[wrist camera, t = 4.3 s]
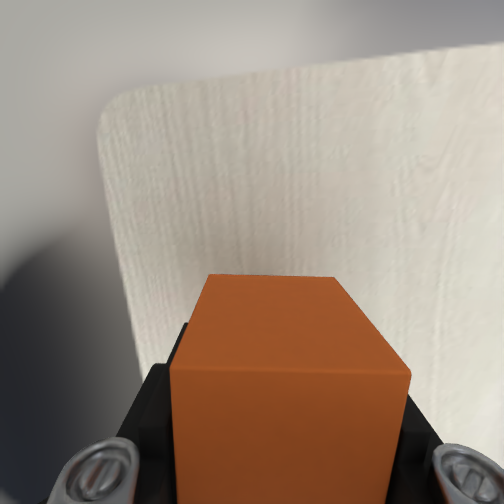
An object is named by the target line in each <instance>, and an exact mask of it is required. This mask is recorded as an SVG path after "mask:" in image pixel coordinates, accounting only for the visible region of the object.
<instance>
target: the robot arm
mask: <svg viewBox="0 0 504 504" xmlns="http://www.w3.org/2000/svg"><path fill="white" fill-rule="evenodd" d="M187 325H188V323H187V322H185V323H184V325H183V327H182V329H181V332H180V334H179V336H178V338H177V340H176V343H175V345H174V347H173V349H172V352H171V354H170V356H169V358H168V360H167V363H166V364H161V363H155V364H154V365H153V366H152V367H151V369H150V371H149V373H148V375H147V377H146V379H145V381H144V383H143V385H142V387H141V389H140V391H139V392H138V394H137V396H136V398H135V400H134V402H133V404H132V406H131V408H130V410H129V412H128V414H127V416H126V418H125V420H124V421H123V424H122V425H121V427H120V429H119V431H118V433H117V435H116V437H109V438H106V439H102V440H98V441H96V442H94V443H92V444H90V445H88V446H86V447H85V448H84V449H82V450H81V451H79V452H78V453H77V454H75V455H74V457H73V458H72V459H71V460H70V461H69V462H68V463H67V464H66V465H65V467H64V469H63V470H62V472H61V474H60V475H59V477H58V479H57V481H56V484H55V486H54V488H53V490H52V492H51V495H50V496H49V497H47V498H46V499H44V500H43V501H41V502H40V503H38V504H177V490H176V473H175V455H174V438H173V420H172V403H171V385H170V365H171V363H172V361H173V358H174V356H175V354H176V351H177V349H178V346H179V344H180V342H181V339H182V337H183V335H184V332H185V330H186V328H187ZM385 504H504V470H503V469H502V468H501V467H500V466H499V465H498V464H497V463H495V462H494V461H493V460H491V459H489V458H488V457H486V456H485V455H483V454H482V453H480V452H478V451H476V450H473V449H471V448H469V447H466V446H462V445H459V444H449V443H446V444H444V443H443V442H442V441H441V439H440V438H439V436H438V435H437V434H436V432H435V431H434V429H433V428H432V427H431V425H430V424H429V422H428V421H427V420H426V418H425V417H424V415H423V414H422V413H421V411H420V410H419V408H418V407H417V406H416V404H415V403H414V401H413V400H412V399H411V397H410V396H409V394H408V395H407V399H406V404H405V409H404V414H403V419H402V424H401V428H400V433H399V438H398V443H397V448H396V452H395V457H394V462H393V467H392V472H391V476H390V481H389V486H388V491H387V496H386V501H385Z"/></svg>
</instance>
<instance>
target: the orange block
mask: <svg viewBox="0 0 504 504" xmlns="http://www.w3.org/2000/svg"><path fill="white" fill-rule="evenodd" d="M410 380H411V371H410V369H409V368H408V367H407V366H406V364H405V363H404V362H403V361H402V359H401V358H400V357H399V356H398V354H397V353H396V352H395V351H394V350H393V348H392V347H391V346H390V345H389V343H388V342H387V341H386V340H385V339H384V337H383V336H382V335H381V334H380V332H379V331H378V330H377V329H376V328H375V326H374V325H373V324H372V323H371V321H370V320H369V319H368V318H367V317H366V315H365V314H364V313H363V312H362V310H361V309H360V308H359V307H358V305H357V304H356V303H355V302H354V301H353V299H352V298H351V297H350V296H349V294H348V293H347V292H346V291H345V290H344V288H343V287H342V286H341V285H340V283H339V282H338V281H337V280H336V279H335V278H334V277H308V276H268V275H228V274H209V275H208V278H207V280H206V283H205V285H204V287H203V290H202V292H201V294H200V297H199V299H198V301H197V304H196V306H195V309H194V311H193V313H192V316H191V318H190V320H189V323H188V325H187V328H186V330H185V332H184V335H183V337H182V339H181V342H180V344H179V346H178V349H177V351H176V354H175V356H174V358H173V361H172V363H171V365H170V385H171V403H172V420H173V438H174V455H175V473H176V490H177V504H385V501H386V496H387V491H388V486H389V481H390V476H391V472H392V467H393V462H394V457H395V452H396V448H397V443H398V438H399V433H400V428H401V424H402V419H403V414H404V409H405V404H406V399H407V395H408V390H409V385H410Z"/></svg>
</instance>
